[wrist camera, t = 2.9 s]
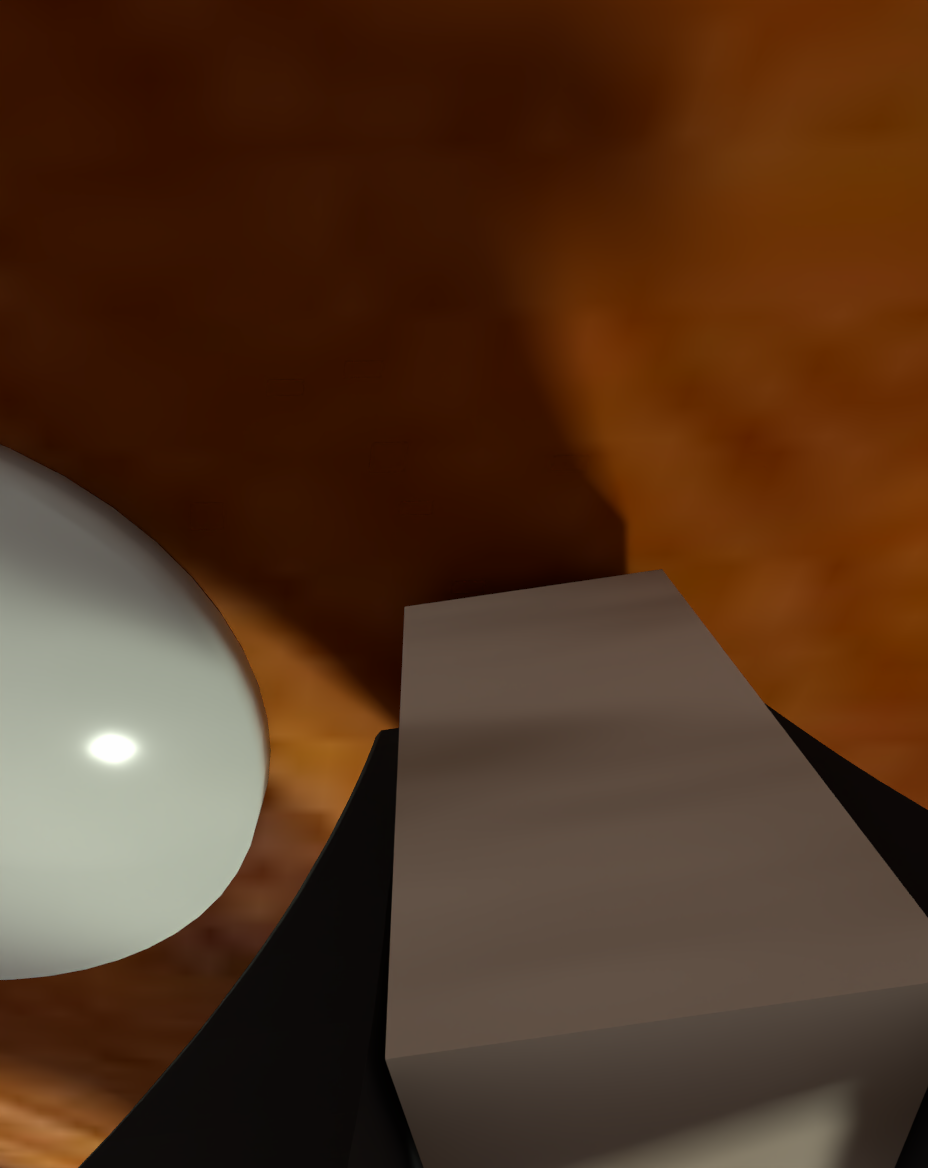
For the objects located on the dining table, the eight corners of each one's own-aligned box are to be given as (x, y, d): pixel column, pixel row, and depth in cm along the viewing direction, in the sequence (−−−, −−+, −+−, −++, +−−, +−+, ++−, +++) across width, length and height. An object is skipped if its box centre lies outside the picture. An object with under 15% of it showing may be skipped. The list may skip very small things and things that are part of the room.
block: (658, 763, 13) (872, 1221, 7) (442, 794, 13) (463, 1278, 7) (661, 569, 11) (972, 976, 5) (404, 607, 11) (385, 1059, 5)
